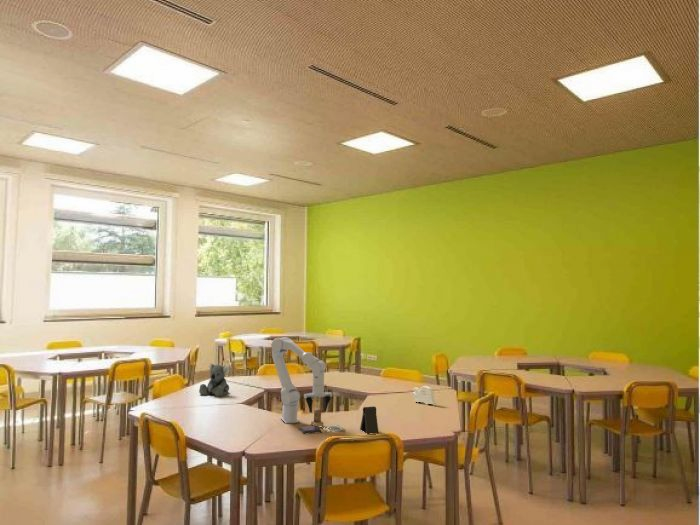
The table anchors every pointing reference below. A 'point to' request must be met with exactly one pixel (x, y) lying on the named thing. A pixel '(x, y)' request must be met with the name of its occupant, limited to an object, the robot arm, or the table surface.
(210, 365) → the koala plush
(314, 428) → the ink pad
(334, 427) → the desk mat
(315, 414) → the stamp
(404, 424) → the table surface
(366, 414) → the phone stand
